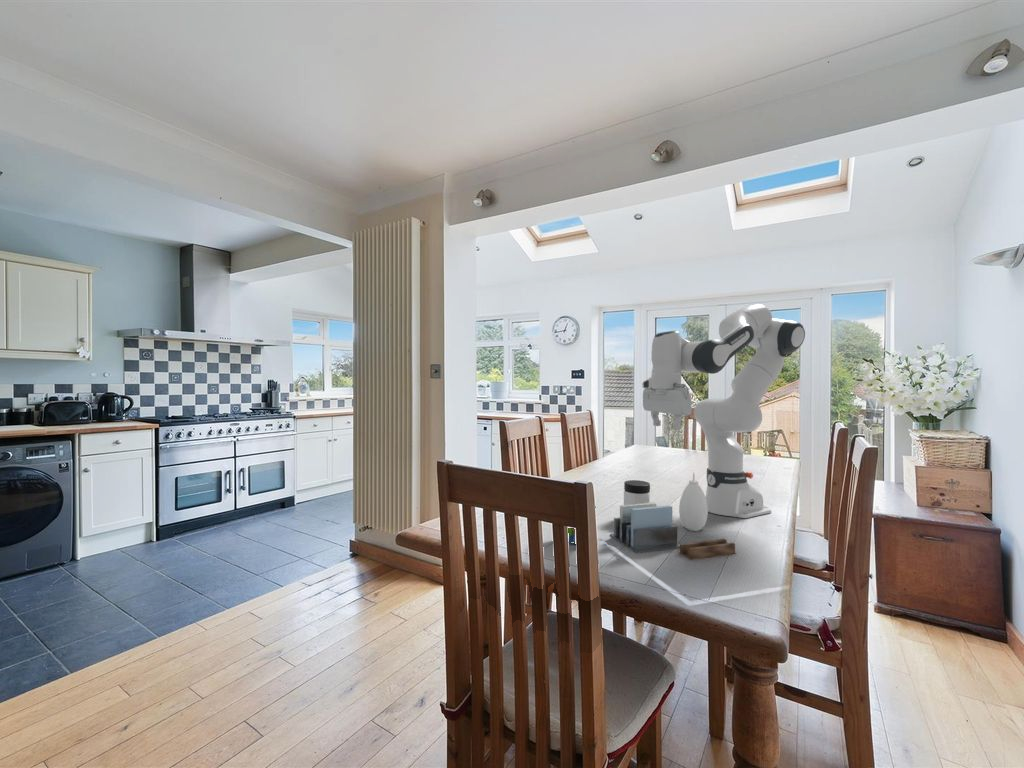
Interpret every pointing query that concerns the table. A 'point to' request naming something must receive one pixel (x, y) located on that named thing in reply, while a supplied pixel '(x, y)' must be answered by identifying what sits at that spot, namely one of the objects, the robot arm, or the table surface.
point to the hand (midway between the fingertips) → (665, 427)
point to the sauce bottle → (693, 506)
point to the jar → (636, 492)
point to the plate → (650, 518)
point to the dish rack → (643, 533)
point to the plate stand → (707, 549)
